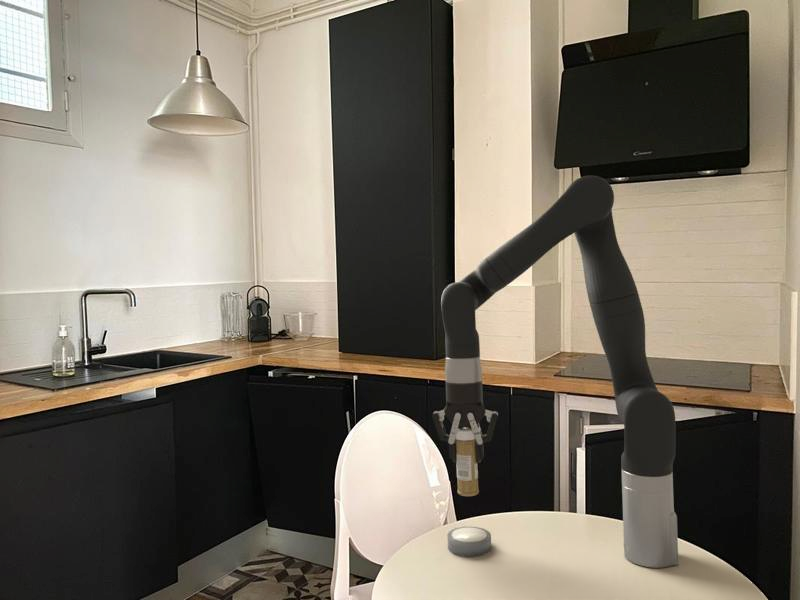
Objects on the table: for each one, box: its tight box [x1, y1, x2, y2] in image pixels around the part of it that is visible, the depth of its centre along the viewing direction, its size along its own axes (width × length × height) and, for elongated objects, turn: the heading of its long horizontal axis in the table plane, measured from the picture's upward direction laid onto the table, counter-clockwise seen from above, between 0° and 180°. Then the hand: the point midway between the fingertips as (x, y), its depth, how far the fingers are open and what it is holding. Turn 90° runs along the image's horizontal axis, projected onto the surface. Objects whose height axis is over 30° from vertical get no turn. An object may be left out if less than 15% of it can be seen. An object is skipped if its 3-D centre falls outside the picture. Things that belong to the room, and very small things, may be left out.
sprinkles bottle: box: [455, 428, 480, 497], centre depth 126 cm, size 5×5×14 cm
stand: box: [446, 526, 492, 558], centre depth 127 cm, size 9×9×3 cm
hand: (466, 460), depth 126 cm, fingers closed on sprinkles bottle, 4 cm apart
